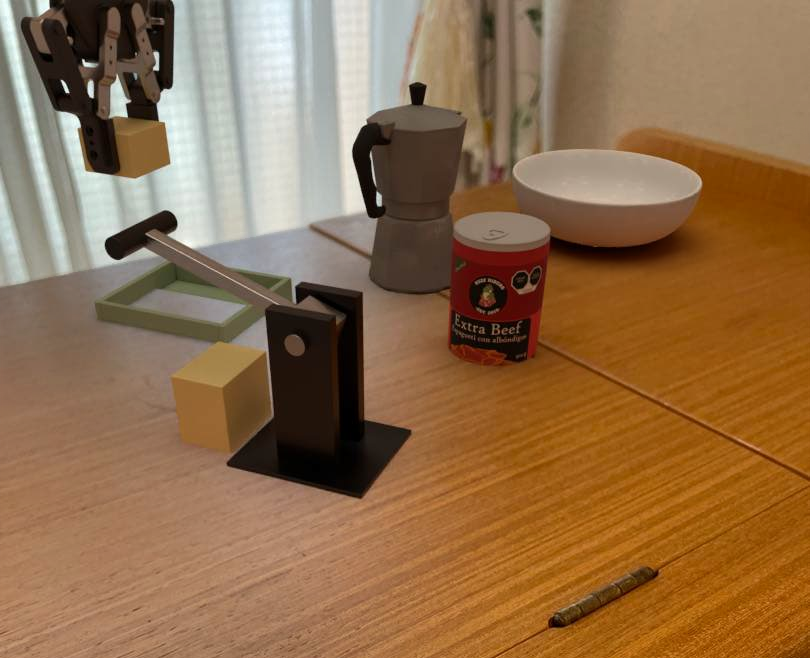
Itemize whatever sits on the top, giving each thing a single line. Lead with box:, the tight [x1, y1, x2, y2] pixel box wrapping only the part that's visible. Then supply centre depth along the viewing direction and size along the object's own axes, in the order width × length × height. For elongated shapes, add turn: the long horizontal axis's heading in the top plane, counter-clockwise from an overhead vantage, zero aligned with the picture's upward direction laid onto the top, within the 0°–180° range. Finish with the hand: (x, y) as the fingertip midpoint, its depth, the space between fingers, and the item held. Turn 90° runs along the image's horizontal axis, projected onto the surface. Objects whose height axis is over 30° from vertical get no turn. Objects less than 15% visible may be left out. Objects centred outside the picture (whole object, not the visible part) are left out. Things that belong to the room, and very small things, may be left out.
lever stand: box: [226, 280, 413, 500], centre depth 58 cm, size 10×9×12 cm
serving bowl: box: [511, 148, 703, 248], centre depth 99 cm, size 21×21×7 cm
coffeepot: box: [351, 81, 468, 294], centre depth 83 cm, size 15×9×18 cm, turn 142°
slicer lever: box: [104, 209, 347, 345], centre depth 56 cm, size 15×6×2 cm, turn 68°
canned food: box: [447, 211, 551, 367], centre depth 72 cm, size 8×8×11 cm
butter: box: [170, 342, 273, 454], centre depth 62 cm, size 4×6×6 cm, turn 158°
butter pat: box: [77, 115, 171, 180], centre depth 65 cm, size 4×4×3 cm
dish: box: [93, 259, 294, 344], centre depth 80 cm, size 13×12×2 cm
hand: (127, 163), depth 66 cm, fingers closed on butter pat, 4 cm apart
